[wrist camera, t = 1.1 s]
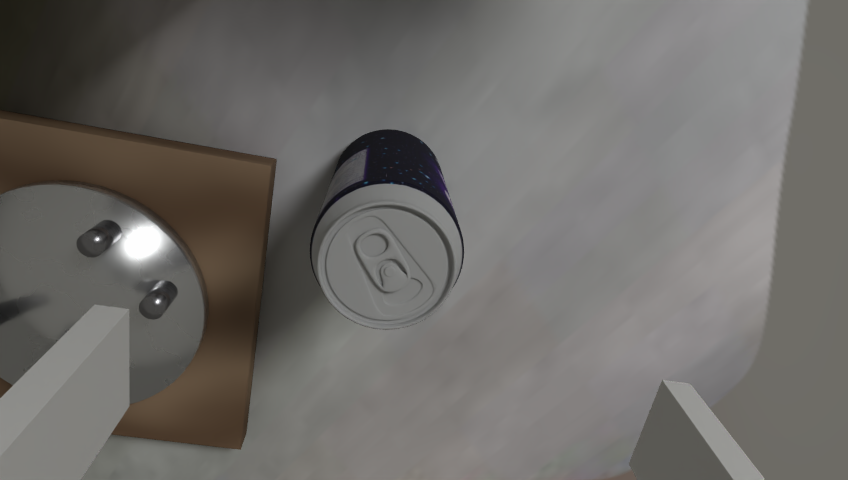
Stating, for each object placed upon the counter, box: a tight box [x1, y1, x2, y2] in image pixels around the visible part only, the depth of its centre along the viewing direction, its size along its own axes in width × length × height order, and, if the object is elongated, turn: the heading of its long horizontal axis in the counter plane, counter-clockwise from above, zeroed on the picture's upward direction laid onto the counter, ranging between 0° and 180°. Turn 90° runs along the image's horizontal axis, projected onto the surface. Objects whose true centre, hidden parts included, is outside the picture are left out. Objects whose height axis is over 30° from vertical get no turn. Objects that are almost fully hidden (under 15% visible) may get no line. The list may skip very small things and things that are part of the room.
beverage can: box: [310, 130, 464, 330], centre depth 26 cm, size 6×6×12 cm
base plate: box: [0, 110, 277, 450], centre depth 32 cm, size 18×18×2 cm
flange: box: [0, 180, 209, 404], centre depth 30 cm, size 13×13×3 cm
